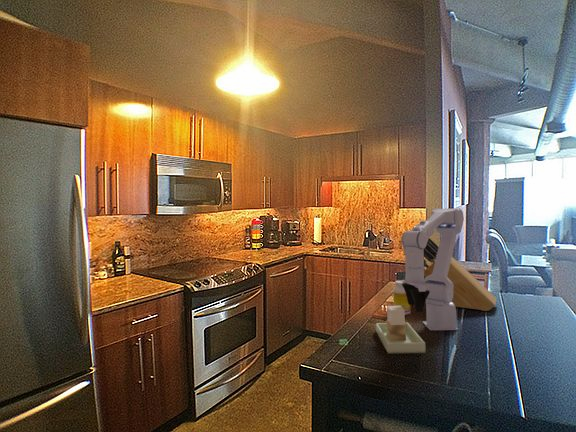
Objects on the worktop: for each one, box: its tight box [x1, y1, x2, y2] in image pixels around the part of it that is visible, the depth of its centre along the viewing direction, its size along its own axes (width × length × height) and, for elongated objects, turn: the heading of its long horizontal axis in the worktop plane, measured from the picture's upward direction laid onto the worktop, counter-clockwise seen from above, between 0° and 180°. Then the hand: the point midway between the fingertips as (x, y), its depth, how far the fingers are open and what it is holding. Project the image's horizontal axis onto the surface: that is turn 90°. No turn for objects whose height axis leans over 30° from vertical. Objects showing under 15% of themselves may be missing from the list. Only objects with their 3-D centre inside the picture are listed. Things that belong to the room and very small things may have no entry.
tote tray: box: [375, 322, 427, 355], centre depth 109 cm, size 11×17×3 cm, turn 177°
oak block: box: [385, 319, 406, 341], centre depth 110 cm, size 5×5×5 cm
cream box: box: [386, 305, 406, 325], centre depth 110 cm, size 4×4×5 cm
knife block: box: [403, 237, 498, 312], centre depth 145 cm, size 11×35×31 cm, turn 54°
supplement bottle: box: [392, 279, 412, 316], centre depth 136 cm, size 7×7×13 cm
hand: (415, 307), depth 110 cm, fingers open, 7 cm apart
